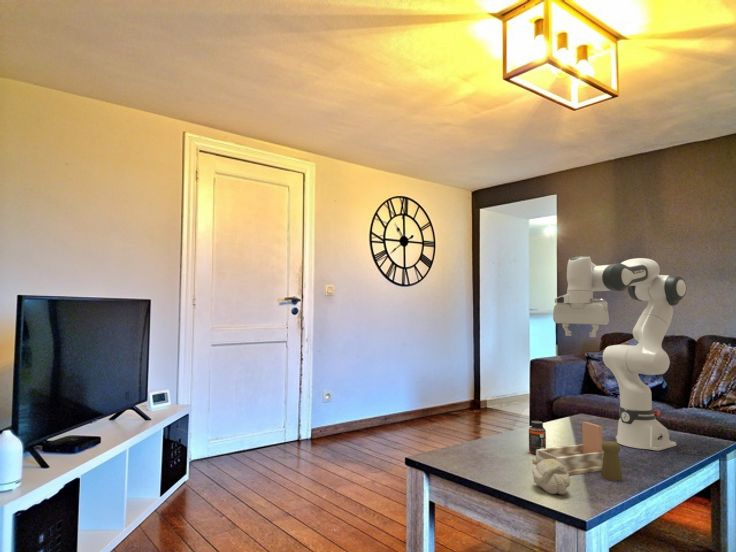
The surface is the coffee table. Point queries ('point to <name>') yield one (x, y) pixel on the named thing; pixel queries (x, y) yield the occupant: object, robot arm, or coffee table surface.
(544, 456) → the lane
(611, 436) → the coffee table surface
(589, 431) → the block
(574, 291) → the robot arm
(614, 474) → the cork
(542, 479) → the fossil replica
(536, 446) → the supplement bottle
